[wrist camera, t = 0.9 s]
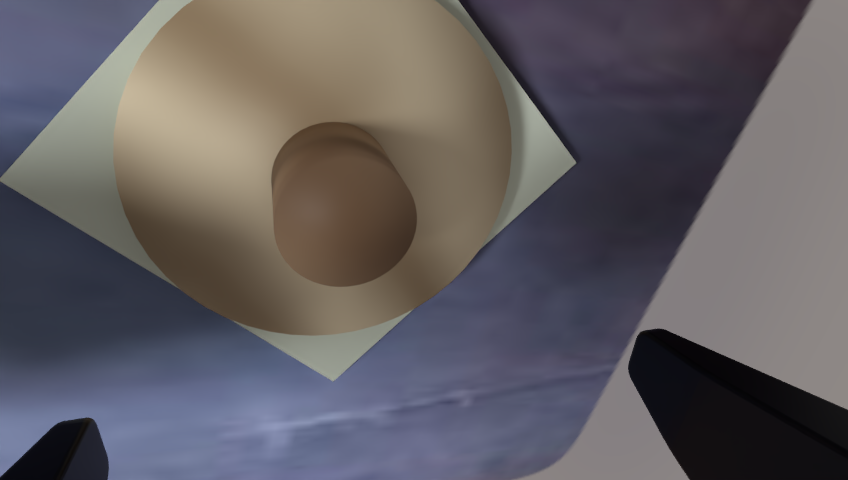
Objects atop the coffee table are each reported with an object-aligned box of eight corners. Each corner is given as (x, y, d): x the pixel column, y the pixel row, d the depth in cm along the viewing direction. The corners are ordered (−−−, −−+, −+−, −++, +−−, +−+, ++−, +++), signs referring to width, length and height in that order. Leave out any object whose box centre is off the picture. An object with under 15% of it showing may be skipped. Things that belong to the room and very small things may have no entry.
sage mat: (331, 372, 23) (332, 381, 23) (6, 173, 16) (-2, 180, 16) (569, 157, 21) (576, 162, 21) (321, -180, 14) (324, -185, 14)
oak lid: (333, 369, 23) (348, 452, 19) (26, 179, 16) (-49, 250, 12) (561, 163, 21) (628, 209, 17) (324, -152, 14) (347, -191, 10)
